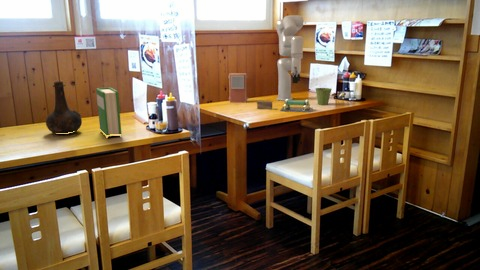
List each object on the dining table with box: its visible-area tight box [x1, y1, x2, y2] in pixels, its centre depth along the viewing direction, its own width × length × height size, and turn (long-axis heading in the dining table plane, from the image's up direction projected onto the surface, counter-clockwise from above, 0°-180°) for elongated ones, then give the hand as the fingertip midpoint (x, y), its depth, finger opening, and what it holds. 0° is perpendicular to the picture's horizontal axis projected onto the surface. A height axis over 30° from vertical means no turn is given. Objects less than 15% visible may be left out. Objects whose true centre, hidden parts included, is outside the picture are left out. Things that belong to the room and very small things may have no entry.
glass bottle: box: [45, 80, 83, 134], centre depth 225 cm, size 18×18×28 cm
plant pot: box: [315, 87, 333, 106], centre depth 302 cm, size 12×12×11 cm
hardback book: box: [95, 87, 122, 135], centre depth 221 cm, size 18×7×24 cm, turn 29°
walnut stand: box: [256, 100, 273, 110], centre depth 289 cm, size 3×10×5 cm, turn 73°
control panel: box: [227, 72, 249, 104], centre depth 316 cm, size 21×7×15 cm
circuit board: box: [287, 99, 310, 106], centre depth 282 cm, size 7×16×2 cm, turn 73°
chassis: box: [279, 99, 314, 113], centre depth 283 cm, size 12×20×7 cm, turn 73°
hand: (296, 82), depth 280 cm, fingers open, 9 cm apart
